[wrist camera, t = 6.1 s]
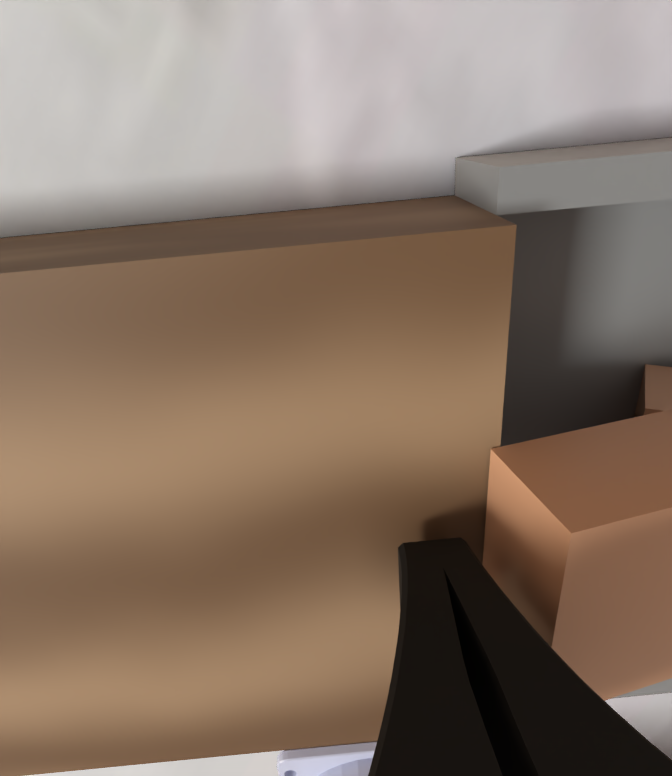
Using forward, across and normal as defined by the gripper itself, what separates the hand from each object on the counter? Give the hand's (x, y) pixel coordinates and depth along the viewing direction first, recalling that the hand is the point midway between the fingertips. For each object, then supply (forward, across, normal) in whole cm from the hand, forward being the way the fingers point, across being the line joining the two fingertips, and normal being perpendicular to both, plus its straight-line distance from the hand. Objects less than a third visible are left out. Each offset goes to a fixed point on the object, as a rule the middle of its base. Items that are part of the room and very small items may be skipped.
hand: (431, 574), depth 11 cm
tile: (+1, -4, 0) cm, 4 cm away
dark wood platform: (+5, +6, 0) cm, 8 cm away
